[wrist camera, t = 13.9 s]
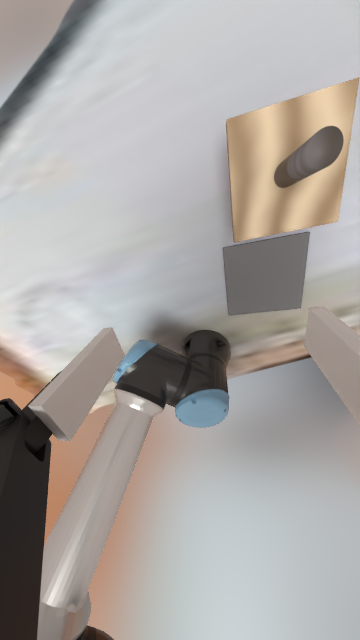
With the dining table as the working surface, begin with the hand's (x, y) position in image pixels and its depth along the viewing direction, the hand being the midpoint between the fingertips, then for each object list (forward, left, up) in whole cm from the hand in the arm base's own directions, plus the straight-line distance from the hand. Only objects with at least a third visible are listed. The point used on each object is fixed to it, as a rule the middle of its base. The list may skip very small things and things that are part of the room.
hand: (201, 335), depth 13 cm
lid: (+12, +10, -25) cm, 29 cm away
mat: (+12, -9, -37) cm, 40 cm away
